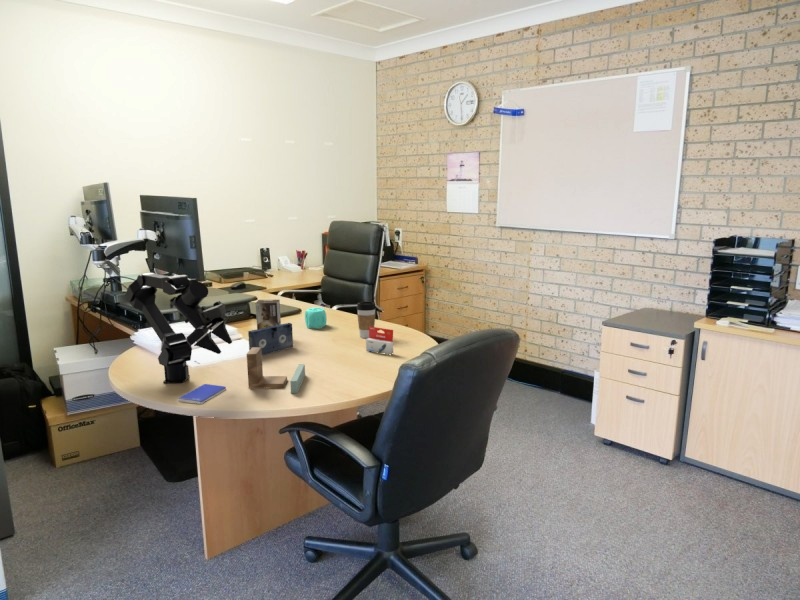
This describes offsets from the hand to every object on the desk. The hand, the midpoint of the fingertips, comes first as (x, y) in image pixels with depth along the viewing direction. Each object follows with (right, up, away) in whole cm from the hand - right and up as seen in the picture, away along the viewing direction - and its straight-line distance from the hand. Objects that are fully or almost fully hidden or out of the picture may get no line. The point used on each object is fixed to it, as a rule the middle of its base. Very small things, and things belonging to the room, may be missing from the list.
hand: (225, 348), depth 171 cm
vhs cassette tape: (+5, -5, +39) cm, 40 cm away
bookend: (+12, -12, +5) cm, 18 cm away
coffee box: (0, -1, +58) cm, 58 cm away
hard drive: (-6, -15, -4) cm, 16 cm away
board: (+22, -12, +5) cm, 26 cm away
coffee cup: (+41, -1, +60) cm, 73 cm away
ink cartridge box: (+47, -6, +38) cm, 61 cm away
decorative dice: (+17, +3, +76) cm, 78 cm away
